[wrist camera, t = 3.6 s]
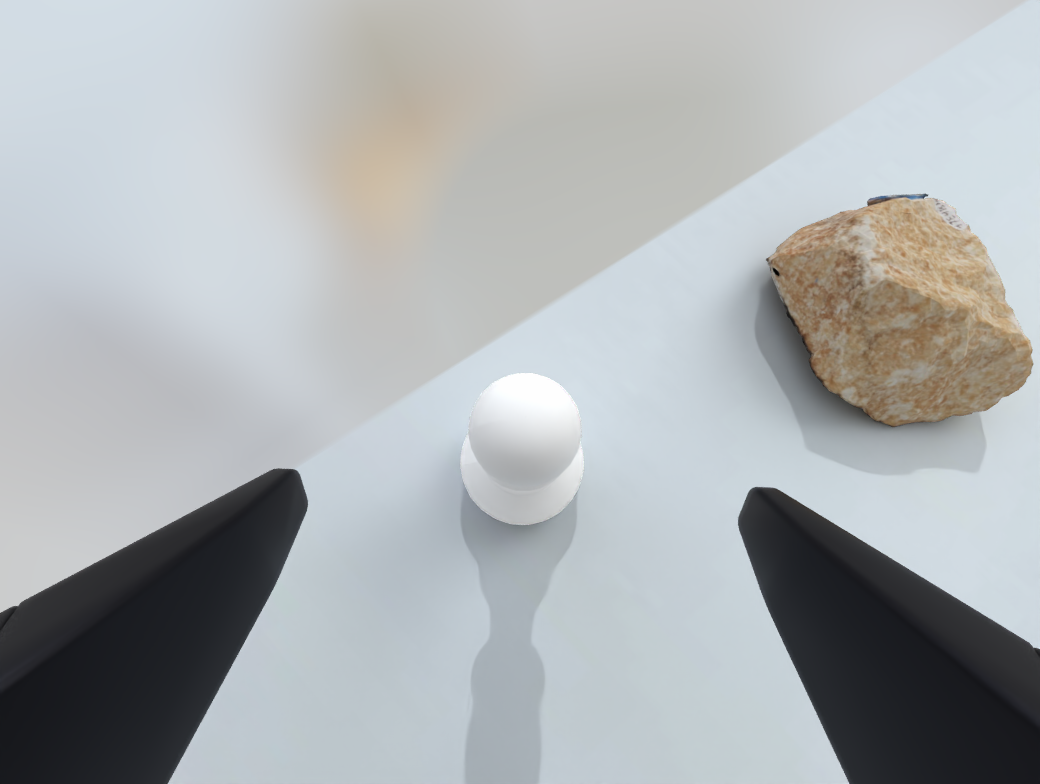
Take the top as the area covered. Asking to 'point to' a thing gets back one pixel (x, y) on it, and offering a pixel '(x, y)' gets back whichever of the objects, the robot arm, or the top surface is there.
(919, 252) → the stone
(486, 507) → the chess pawn
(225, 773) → the top surface
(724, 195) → the top surface
